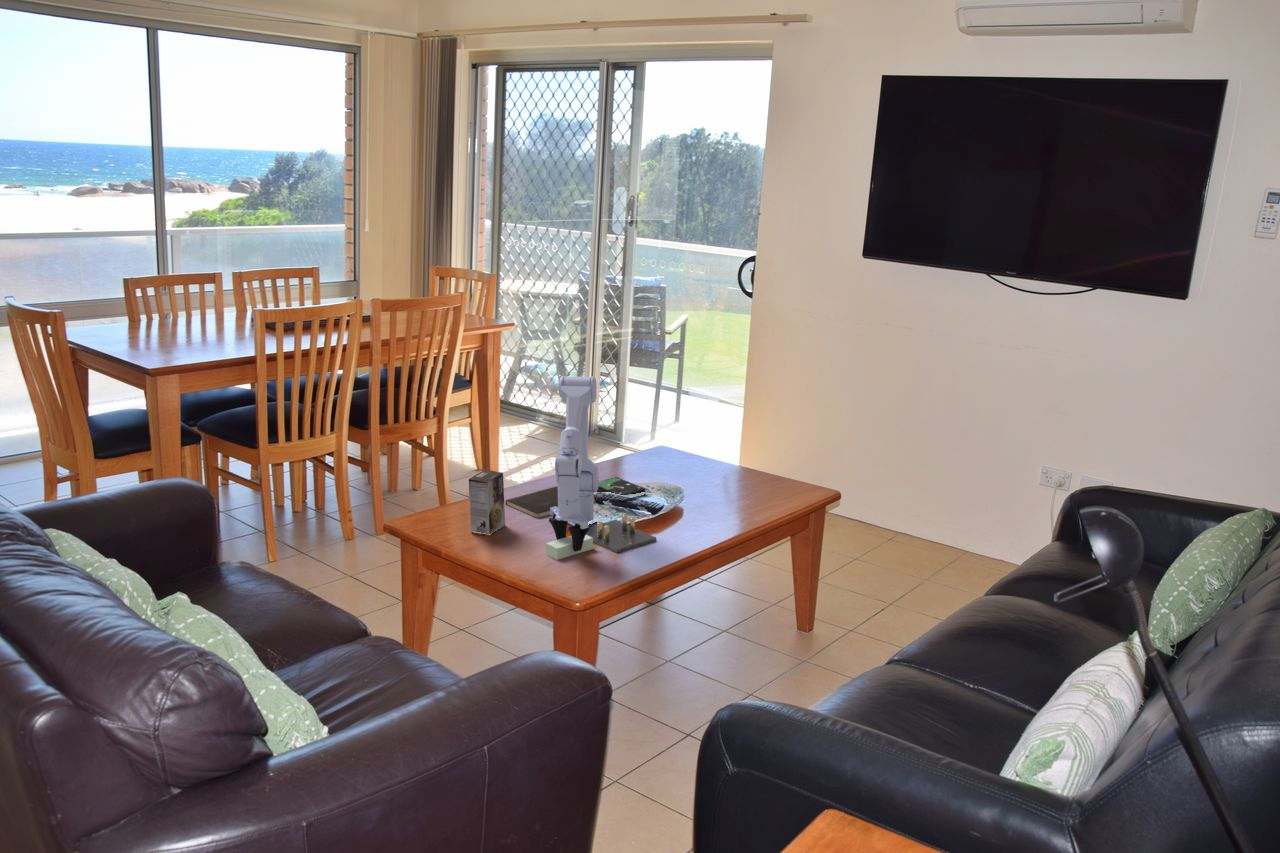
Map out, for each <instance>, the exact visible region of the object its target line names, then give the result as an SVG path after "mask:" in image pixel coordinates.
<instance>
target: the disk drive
mask: <svg viewBox="0 0 1280 853" xmlns="http://www.w3.org/2000/svg"><path fill="white" fill-rule="evenodd" d="M598 492H611V493H615V494H620V495H629V494H636V493H641V492H645V493H646V488H644V487H643V486H640V485H638V484H635V483H632V482H630V481H627V480H626V479H623V478H620V477H617V476H616V477H611V478H608V479H607V478H606V479H603V480H601V481H599V485H598V490H597V491H596V492H595V493H598Z"/></svg>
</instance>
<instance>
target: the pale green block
mask: <svg viewBox="0 0 1280 853" xmlns="http://www.w3.org/2000/svg"><path fill="white" fill-rule="evenodd" d="M593 549H594V542H593V538H592V537H590V536H588V535H585V538H584V541H583V545H582V549H581V550H579V551H576V552H575V551H574V550H573V544H572V537H571V535H569V536H566V537H565V538H562V539H558V540H557V539H555V540H552V541H549V542H546V543H545V555H547V556H548V557H550V558H552V559H554V560H557V561H558V560H561V559H565V558H568V557H572V556H574V555H578V554H581V553H584V552H588V551H590V550H593Z"/></svg>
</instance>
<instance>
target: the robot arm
mask: <svg viewBox="0 0 1280 853" xmlns="http://www.w3.org/2000/svg"><path fill="white" fill-rule="evenodd" d="M558 394H559V397H560V398H561V402H562V403H563V404H564V405H565V428H564V429H563V430H562V431H561V433H560V440H559V446H558V447H559V448H558V456H555V461H554V471H555V472H554V473H555V477H556V479H555V480H556V484H557V486H558V507H556V506H555V507H552V508H550V514H549V515H550V516H552V517H549V519H548V522H549V523H550V525H551V526H552V529H553V532H554V534H555V535H554V536H555V537H556V538H555V540H558V539H562V538H565V537H567V530H568V531H569V533H570V536H571V537H572V544H573V550H574V551H575V552H576V551H579V550H581V549H582V545H583V541H584V538H585V535H586V533H587V532H588V530H589V528H590V527H591V526H590V525H588V522H589V521H591V520H593V519H594V518H595V515H594V514H595V513H594V512H595V510H594V509H595V508H594V505H595V504H594V503H595V501H594V495H595V494H594V493H597V492H596V491H597V490H598V485H599V482H600V477H599V476H600V475H599V468H598V465H597V464H596V463H595V462H594V461H592V460H591V459H590V458H589V408H590V405H591V404H594V403H596V401H597V378H595V376H574V375H573V376H568V375H562V376H560V377H559V382H558ZM568 524H569V525H571V526H570V527H568Z"/></svg>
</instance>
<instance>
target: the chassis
mask: <svg viewBox="0 0 1280 853" xmlns="http://www.w3.org/2000/svg"><path fill="white" fill-rule="evenodd" d="M621 516H622V518H621V519H622V521H619V520H617V519H613V520H610V521H607V522H602V521H600V522H597V523H596V525H595V524H594V525H593V526H590V528H589V530H588V532H587V533H586V535H588V536H590V537H592V538H593V544H597V545H599V546H601V547H603V548H604V549H607V550H609V551H611V552H613V553H616V554H618V553H621V552H622V553H623V552H625V551H628V550H631V549H634V548H638V547H640V546H644V545H648V544H650V543H654V542H656V541H657V537H656V536H654V535H651V534H649V533H647V532H644V531H642V530H640V529H638V528H635V526H636V524H635V523H636V522H635V521H636V520H635V518H634V517H629V524H628V514H622V515H621Z"/></svg>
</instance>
